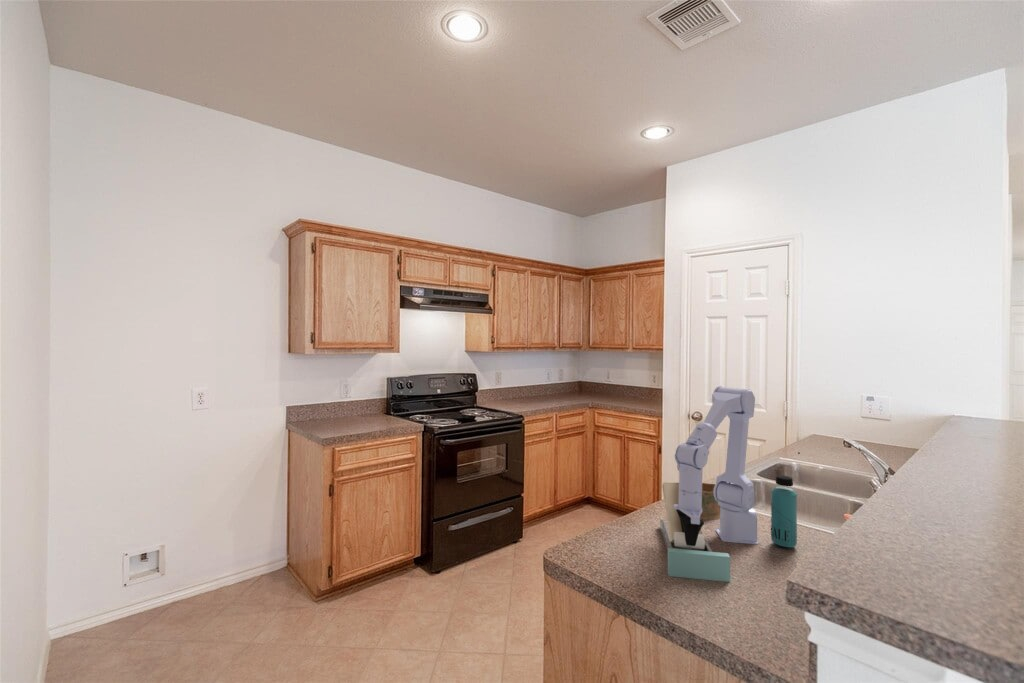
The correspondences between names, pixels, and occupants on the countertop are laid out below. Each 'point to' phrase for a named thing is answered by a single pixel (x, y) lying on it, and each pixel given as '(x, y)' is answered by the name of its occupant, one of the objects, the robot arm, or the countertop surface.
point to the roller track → (668, 543)
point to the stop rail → (699, 564)
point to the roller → (681, 542)
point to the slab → (672, 508)
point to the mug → (709, 503)
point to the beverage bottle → (784, 513)
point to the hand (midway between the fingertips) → (689, 541)
